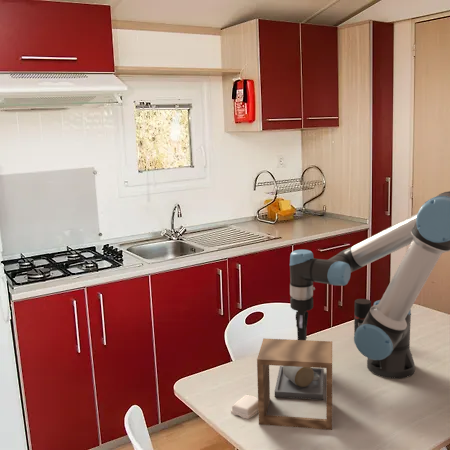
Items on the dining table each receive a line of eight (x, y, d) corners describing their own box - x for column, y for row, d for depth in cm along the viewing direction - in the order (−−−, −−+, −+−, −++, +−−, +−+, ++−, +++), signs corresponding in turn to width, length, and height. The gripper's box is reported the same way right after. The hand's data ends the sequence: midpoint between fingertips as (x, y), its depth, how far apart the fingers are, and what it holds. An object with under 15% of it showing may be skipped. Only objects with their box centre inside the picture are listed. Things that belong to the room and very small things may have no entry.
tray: (323, 373, 178) (323, 368, 178) (322, 400, 162) (322, 394, 161) (280, 371, 181) (279, 366, 180) (274, 396, 164) (274, 391, 164)
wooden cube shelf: (332, 403, 160) (332, 341, 156) (332, 430, 146) (332, 363, 142) (264, 398, 164) (263, 338, 160) (258, 424, 150) (257, 359, 146)
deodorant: (354, 342, 201) (354, 303, 198) (354, 335, 207) (354, 298, 204) (370, 342, 200) (371, 304, 197) (370, 336, 206) (370, 299, 203)
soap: (245, 400, 164) (245, 391, 163) (264, 406, 160) (264, 397, 159) (228, 414, 156) (228, 404, 156) (248, 420, 153) (248, 411, 152)
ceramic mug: (295, 391, 166) (295, 367, 164) (282, 379, 173) (282, 357, 171) (324, 383, 170) (325, 361, 168) (310, 372, 177) (310, 351, 176)
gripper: (312, 303, 171) (312, 372, 176) (314, 290, 184) (314, 355, 189) (288, 302, 173) (289, 370, 178) (291, 289, 185) (292, 353, 190)
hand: (302, 362), depth 183 cm, fingers closed
